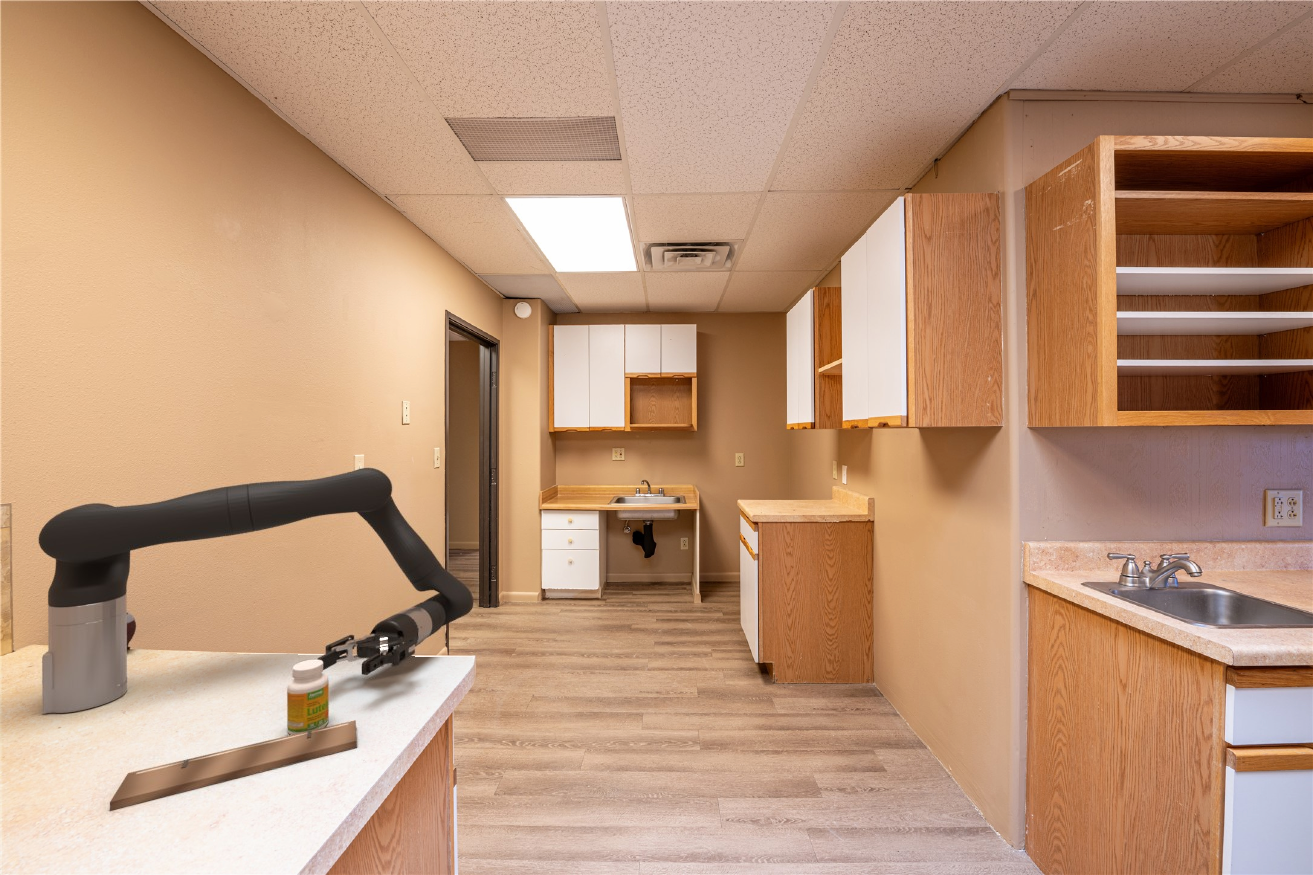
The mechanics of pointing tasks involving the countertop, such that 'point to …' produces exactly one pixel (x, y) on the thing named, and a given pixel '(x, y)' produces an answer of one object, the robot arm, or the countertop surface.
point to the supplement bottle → (307, 698)
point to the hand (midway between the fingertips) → (340, 667)
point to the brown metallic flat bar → (232, 764)
